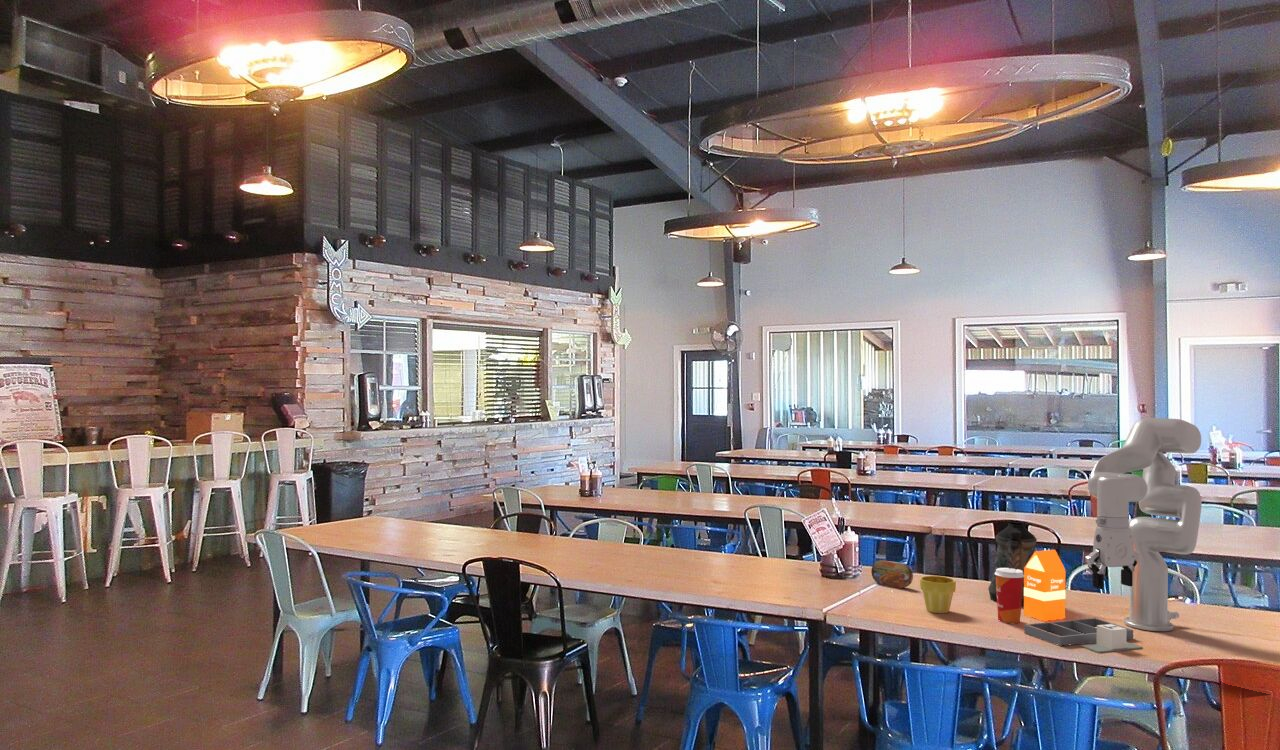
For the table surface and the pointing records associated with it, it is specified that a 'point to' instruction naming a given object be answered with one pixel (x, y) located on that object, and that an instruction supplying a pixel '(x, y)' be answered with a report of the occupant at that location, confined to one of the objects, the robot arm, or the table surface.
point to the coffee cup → (1009, 594)
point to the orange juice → (1044, 586)
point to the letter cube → (1111, 636)
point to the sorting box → (1069, 631)
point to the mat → (1102, 649)
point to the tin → (892, 573)
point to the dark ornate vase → (1012, 552)
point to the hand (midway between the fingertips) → (1112, 586)
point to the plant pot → (937, 593)
